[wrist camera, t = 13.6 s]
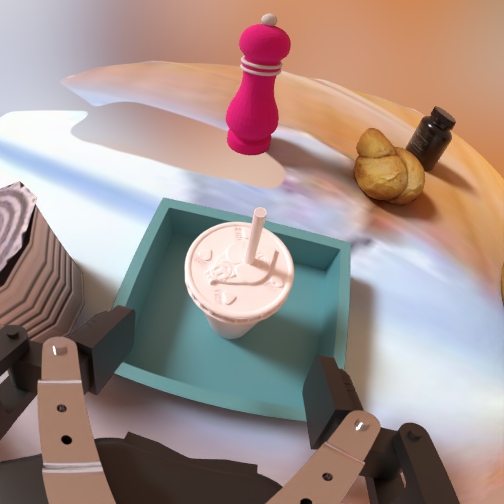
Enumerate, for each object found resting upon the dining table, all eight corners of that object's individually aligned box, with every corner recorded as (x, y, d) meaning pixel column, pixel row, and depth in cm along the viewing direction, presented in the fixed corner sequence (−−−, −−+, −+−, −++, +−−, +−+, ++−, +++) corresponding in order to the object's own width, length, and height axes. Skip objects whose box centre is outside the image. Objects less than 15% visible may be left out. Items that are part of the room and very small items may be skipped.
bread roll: (409, 179, 41) (431, 145, 34) (424, 222, 36) (453, 187, 29) (344, 158, 41) (362, 118, 34) (351, 202, 35) (376, 158, 29)
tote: (113, 372, 20) (92, 363, 16) (168, 228, 29) (163, 197, 25) (313, 422, 21) (336, 423, 16) (331, 268, 29) (350, 243, 25)
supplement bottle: (424, 153, 48) (449, 111, 37) (436, 175, 44) (466, 130, 34) (399, 144, 47) (424, 98, 37) (411, 166, 43) (441, 117, 33)
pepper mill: (260, 127, 42) (283, 12, 25) (280, 154, 38) (314, 24, 21) (217, 133, 39) (229, 8, 23) (233, 161, 36) (252, 16, 19)
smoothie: (280, 334, 24) (347, 247, 12) (214, 367, 21) (213, 310, 10) (245, 275, 26) (272, 156, 15) (182, 302, 24) (156, 189, 12)
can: (7, 354, 18) (-70, 310, 8) (10, 262, 24) (-42, 199, 14) (91, 341, 22) (20, 286, 12) (85, 241, 27) (43, 160, 17)
